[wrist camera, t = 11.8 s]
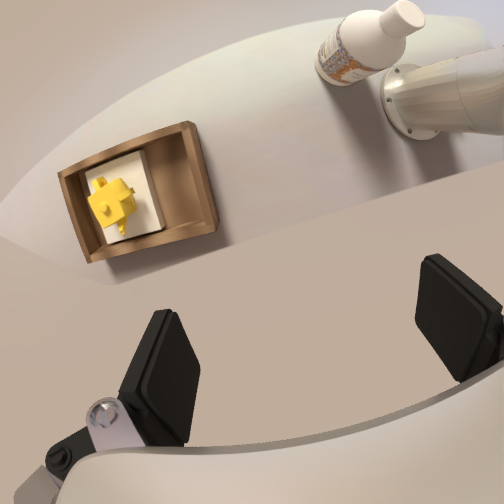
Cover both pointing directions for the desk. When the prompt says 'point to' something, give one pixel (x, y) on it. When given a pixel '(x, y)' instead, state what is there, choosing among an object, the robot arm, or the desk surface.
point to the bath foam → (367, 43)
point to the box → (166, 188)
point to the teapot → (112, 202)
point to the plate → (145, 198)
